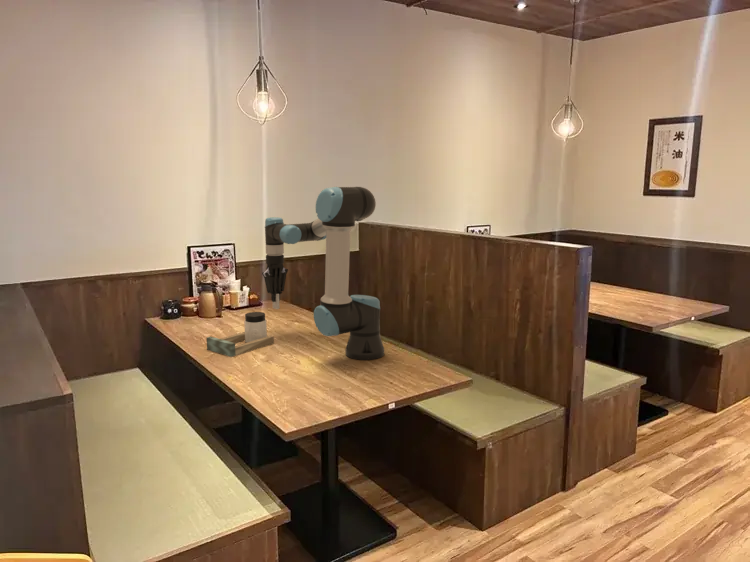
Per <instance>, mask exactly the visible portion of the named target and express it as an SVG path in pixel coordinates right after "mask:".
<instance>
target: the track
mask: <svg viewBox="0 0 750 562" xmlns="http://www.w3.org/2000/svg"><path fill="white" fill-rule="evenodd" d="M274 337H275V336H273V335H267V337H264V338H261V339H258V340H254V341H251V342H247V343H246V342H245V331H242V332H237V333H236V334H235V333H234V334H231V335H229V336H224V337H221V338H218V337H215V336H207V337H206V339H205V340H206V350H208V351H210V352H214V353H217V354H221V355H224V356H227V357H230V358H231V357H232V358H233V357H234V356H238V355H241V354H245V353H248V352H251V350H252V351H254V349H255V350H258V349H262V348H263V347H267V345H268V346H271V345H274V344H275V341H274V339H275V338H274ZM240 342H244V343H241V344H237V343H240ZM236 344H237V345H236ZM257 348H258V349H257Z"/></svg>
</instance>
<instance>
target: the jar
mask: <svg viewBox="0 0 750 562" xmlns="http://www.w3.org/2000/svg"><path fill="white" fill-rule="evenodd" d="M267 329H268V328H267V319H266V313H265V312H262V311H251V312H250V311H249V312H247V313H245V314H244V332H245V340H244V343H247V342H251V341H254V340H258V339H261V338H264V337H268V335H267V334H268V332H267Z"/></svg>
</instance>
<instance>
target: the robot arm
mask: <svg viewBox="0 0 750 562" xmlns="http://www.w3.org/2000/svg"><path fill="white" fill-rule="evenodd" d="M376 205H377V203H376V198H375V195H374V194H373V193H372V192H371V191H370V190H369V189H367V188H366V187H364V186H363V187H362V186H334V187H326V188H324V189H322V191H320V193H319V194H318V196H317V198H316V202H315V214H316V217H317V219H315V220H313V221H311V222H307V223H306V222H304V223H289V224H286V223H284V218H282V217H275V216H274V217H267V218H265V219H264V220H265V221H264V236H265V237H264V238H265V241H264V242H265V254H266V255H265V262H266V263H265V264H266V270H265V271H262V274H261V275H262V276H263V279H264V283H265V287H266V293H267V294H270V295H271V302H272V309H274V310H279V309H281V308H280V307H281V306H280V301H281V294H283V292H284V291H285V287H286V279H287V274H288V271H289V269H288V268H285V267H284V264H285V255H284V253H285V250H284V249H285V247H284V246H285V245H284V244H287V245H295V244H297V243H302V242H312V241H313V242H314V241H315V242H316V241H317V242H319V241H322V240H325V272H324V273H325V274H324V275H325V277H324V278H325V279H324V294H323V295H322V297H320V303H319V304H320V305H317V306H316V307H315V308H314V310H313V322H314V324H315V326H316V328H317V330H318V332H320V334H321V335H323V336H325V337H333V336H339V335H343V334H347V333H349V336H348V340H347V343H346V347H345V356H346V357H348V358H350V359H353V360H359V361H371V360H378V359H380V358H382V357H384V355H385V347H384V345H383V344H384V343H383V341H382V337H381V302H380V299H379V298H378V297H376V296H372V295H366V294H351V295H350V294H349V281H350V275H349V274H350V255H351V254H350V253H351V250H350V249H351V248H350V247H351V231H352V230H353V228H355V225H356V222H361V221H363V220H366V219H368V218H369V217H371V216H372V215H373V214H374V212H375V209H376Z"/></svg>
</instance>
